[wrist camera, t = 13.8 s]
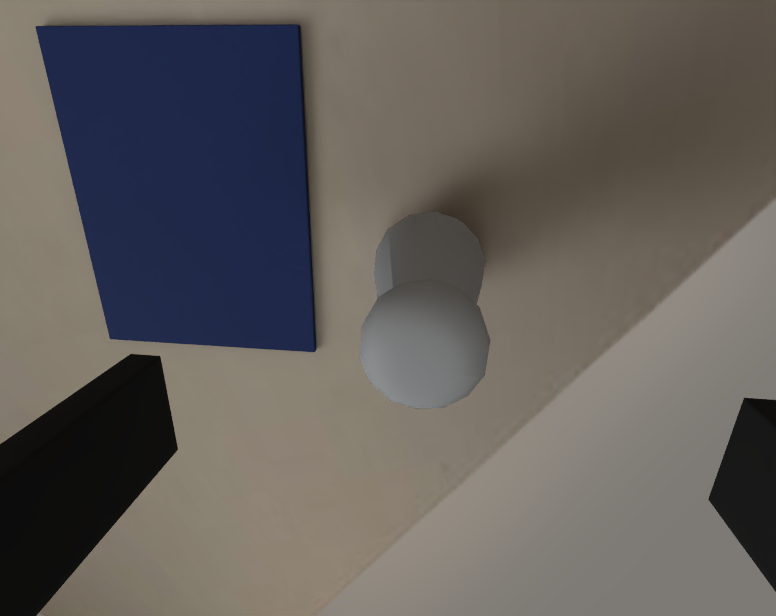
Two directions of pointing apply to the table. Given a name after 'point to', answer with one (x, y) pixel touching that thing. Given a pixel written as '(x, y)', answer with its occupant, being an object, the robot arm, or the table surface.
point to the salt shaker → (426, 313)
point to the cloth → (190, 178)
